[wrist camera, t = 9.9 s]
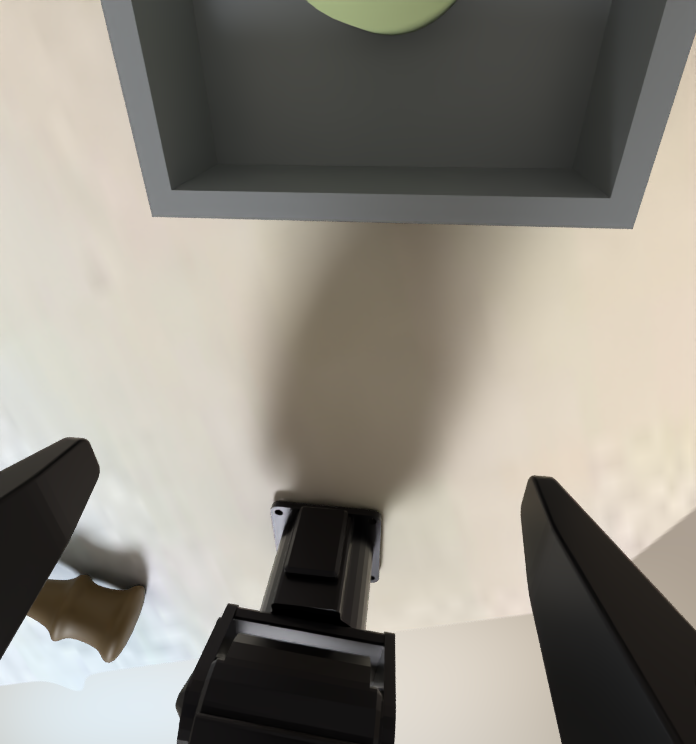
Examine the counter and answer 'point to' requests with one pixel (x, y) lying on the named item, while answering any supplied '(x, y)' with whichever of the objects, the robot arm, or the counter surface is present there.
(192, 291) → the counter surface
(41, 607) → the kendama
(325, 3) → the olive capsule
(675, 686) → the robot arm
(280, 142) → the charcoal bin
